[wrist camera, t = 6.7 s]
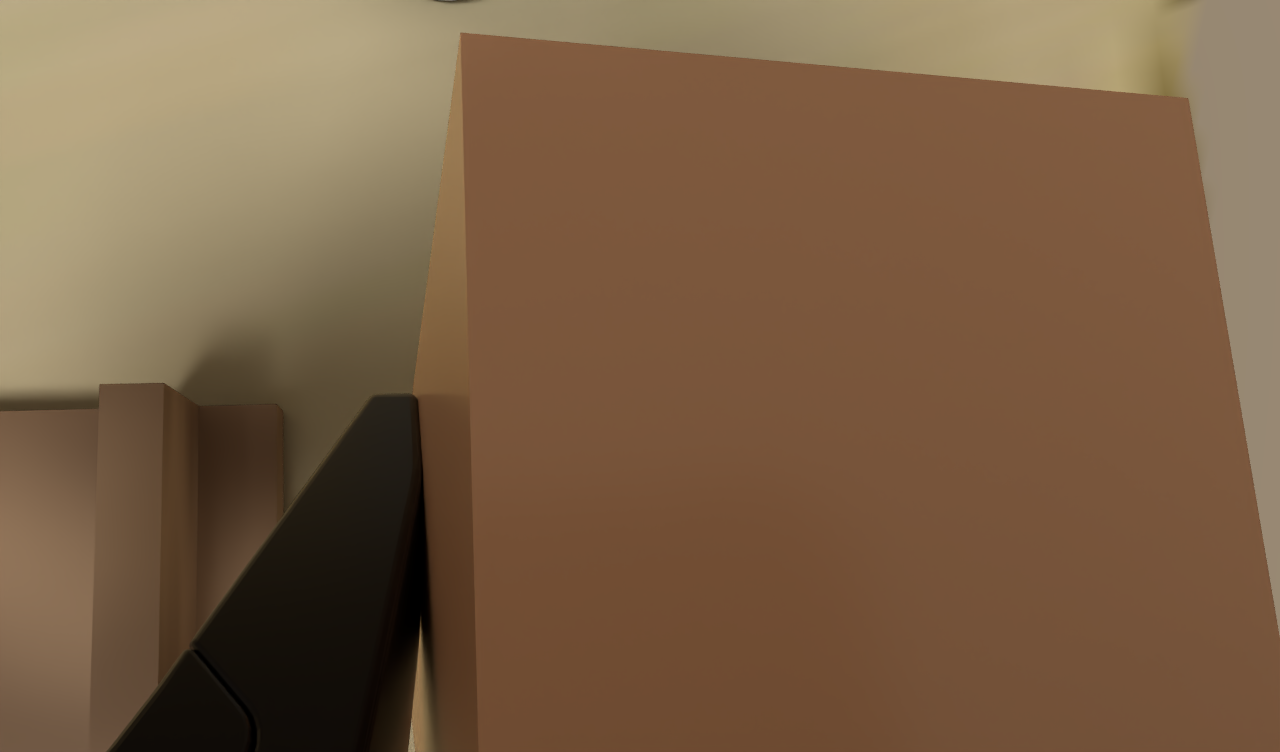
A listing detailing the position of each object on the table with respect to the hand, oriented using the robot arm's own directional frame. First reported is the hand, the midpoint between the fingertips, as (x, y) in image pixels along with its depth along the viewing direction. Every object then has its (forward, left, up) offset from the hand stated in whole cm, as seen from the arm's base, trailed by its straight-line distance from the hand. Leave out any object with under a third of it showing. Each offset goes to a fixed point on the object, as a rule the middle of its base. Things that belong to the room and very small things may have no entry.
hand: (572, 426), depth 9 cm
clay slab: (-1, +1, -7) cm, 7 cm away
